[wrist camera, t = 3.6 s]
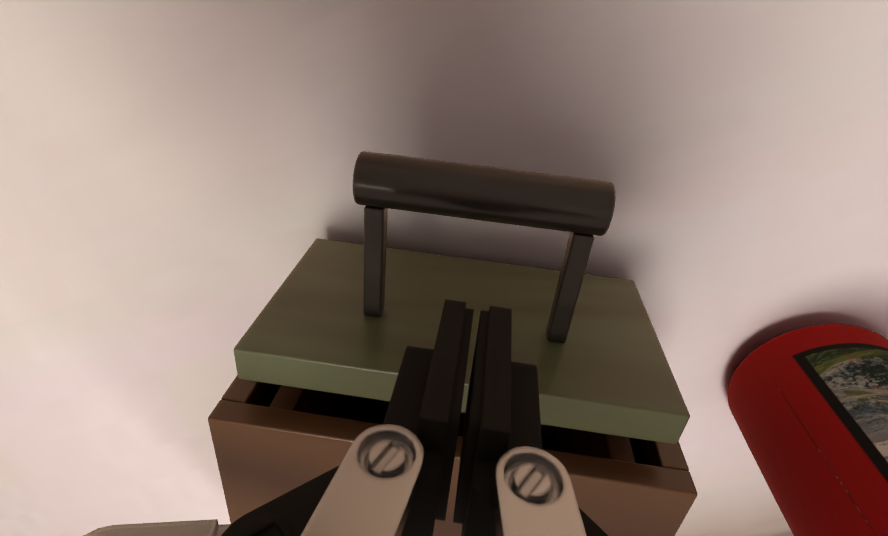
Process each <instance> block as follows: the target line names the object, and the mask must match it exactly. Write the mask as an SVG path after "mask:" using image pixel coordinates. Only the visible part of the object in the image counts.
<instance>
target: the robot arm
mask: <svg viewBox="0 0 888 536" xmlns="http://www.w3.org/2000/svg"><path fill="white" fill-rule="evenodd" d="M473 313H474V309H470V308H466V302H462V301H455V300H448V299H445V302H444V307H443V311H442V316H441V320H440V325H439V329H438V333H437V338H436V342H435V347H434V350H433V349H426V348H420V347H413V346H407V347H406V350H405V353H404V356H403V359H402V363H401V366H400V369H399V373H398V376H397V379H396V383H395V386H394V389H393V392H392V396H391V399H390V402H389V406H388V409H387V412H386V416H385V419H384V422H383V425H377V426H374V427H371V428H368V429H366V430H365V431H364V432H362V433H361V434H359V435H358V437H357V438H356V439H355V440H354V442H353V443H352V445H351V446H350V448H349V450H348V452H347V454H346V455H345V457H344V459H343V461H342V463H341V464H340V465H339V466H337V467H335V468H333V469H331V470H329V471H327V472H325V473H323V474H322V475H320V476H318V477H316V478H314V479H312V480H310V481H308V482H306V483H304V484H302V485H300V486H299V487H297V488H295V489H293V490H291V491H289V492H287V493H285V494H283V495H281V496H279V497H277V498H276V499H274V500H272V501H270V502H268V503H266V504H264V505H262V506H260V507H258V508H256V509H254V510H252V511H251V512H249V513H247V514H245V515H243V516H242V517H240V518H239V519H237V520H236V521H234V522H233V523H232V524H227V525H218V521H217V519H216V520H198V521H179V522H161V523H143V524H124V525H112V526H107V527H102V528H98V529H96V530H94V531H92V532H90V533H88V534H86V535H84V536H432V535H433V531H434V525H435V519H436V520H441V521H445V518H446V511H447V505H448V498H449V491H450V485H451V478H452V471H453V464H454V458H455V451H456V444H457V438H458V431H459V424H460V416H461V409H462V401H463V393H464V385H465V377H466V369H467V361H468V353H469V345H470V337H471V329H472V321H473ZM511 339H512V309H510V308H503V307H496V306H490V308H489V311H484V310H481V312H480V318H479V324H478V331H477V337H476V344H475V350H474V357H473V363H472V370H471V376H470V383H469V389H468V396H467V404H466V413H465V421H464V430H463V439H462V448H461V456H460V465H459V474H458V482H457V491H456V500H455V508H454V517H453V523H459V524H462V532H461V536H608V535H607V534H606V533H605V532H604V531H603V530H602V529H601V528H600V527H599V526H598V525H597V524H596V523H595V522H594V521H593V520H592V519H591V518H590V517H589V516H587V515H586V514H585V513H584V512H583V511H582V510H581V509H580V508H579V507H578V504H577V500H576V497H575V493H574V490H573V486H572V483H571V479H570V477H569V474H568V472H567V470H566V468H565V467H564V466H563V465H562V463H561V462H560V461H559V460H558V459H557V458H555V457H554V456H553V455H551V454H550V453H548V452H546V451H544V450H542V436H541V420H540V404H539V388H538V372H537V366H536V365H532V364H526V363H519V362H512V361H511Z"/></svg>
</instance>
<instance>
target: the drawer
mask: <svg viewBox="0 0 888 536" xmlns="http://www.w3.org/2000/svg"><path fill="white" fill-rule="evenodd" d="M353 196H354V200H355V202H356V203H357V204H359V205H366V206H365V207H364V245H363V244H356V243H348V242H341V241H333V240H326V239H316V240H315V241H314V243H313V244H312V245H311V247H310V248H309V249H308V251H307V252H306V253H305V255H304V256H303V257H302V259H301V260H300V261H299V263H298V264H297V265H296V267H295V268H294V269H293V271H292V272H291V273H290V275H289V276H288V277H287V279H286V280H285V281H284V283H283V284H282V285H281V287H280V288H279V289H278V291H277V292H276V293H275V295H274V296H273V297H272V298H271V300H270V301H269V302H268V304H267V305H266V306H265V308H264V309H263V310H262V312H261V313H260V314H259V316H258V317H257V318H256V320H255V321H254V322H253V324H252V325H251V326H250V328H249V329H248V330H247V332H246V333H245V334H244V336H243V337H242V338H241V340H240V341H239V342H238V344H237V345H236V346H235V348H234V355H235V361H236V367H237V373H238V378H239V379H243V380H250V381H257V382H263V383H270V384H276V385H281V387H280V388H279V390H278V392H277V394H276V396H275V397H274V399H273V401H272V403H271V404H270V406H269V407H272V408H279V409H285V410H292V411H298V412H305V413H311V414H318V415H325V416H331V417H338V418H344V419H351V420H357V421H364V422H370V423H377V424H383V422H384V419H385V416H386V412H387V409H388V406H389V402H390V399H391V396H392V392H393V389H394V386H395V383H396V379H397V376H398V373H399V369H400V366H401V363H402V359H403V356H404V353H405V350H406V347H407V346H413V347H420V348H426V349H433V350H434V347H435V342H436V338H437V333H438V329H439V325H440V320H441V316H442V311H443V307H444V302H445V299H448V300H455V301H462V302H466V308H470V309H474V313H473V321H472V329H471V337H470V345H469V353H468V361H467V369H466V377H465V385H464V393H463V401H462V409H461V416H460V424H459V431H458V436H462V437H463V430H464V421H465V413H466V404H467V396H468V389H469V383H470V376H471V370H472V363H473V357H474V350H475V344H476V337H477V331H478V324H479V318H480V312H481V310H484V311H489V308H490V306H496V307H503V308H510V309H512V339H511V361H512V362H519V363H526V364H532V365H536V366H537V372H538V388H539V404H540V420H541V436H542V449H547V450H553V451H560V452H566V453H573V454H579V455H586V456H593V457H599V458H606V459H612V460H619V461H625V462H632V463H636V462H635V458H634V455H633V451H632V447H631V443H630V439H629V438H636V439H642V440H649V441H656V442H662V443H669V444H677V442H678V440H679V438H680V436H681V434H682V432H683V430H684V428H685V426H686V424H687V422H688V420H689V418H690V415H689V412H688V410H687V407H686V405H685V403H684V400H683V398H682V395H681V393H680V391H679V388H678V386H677V383H676V381H675V379H674V376H673V374H672V372H671V369H670V367H669V364H668V362H667V360H666V357H665V355H664V352H663V350H662V348H661V345H660V343H659V340H658V338H657V336H656V333H655V331H654V328H653V326H652V324H651V321H650V319H649V316H648V314H647V312H646V309H645V307H644V304H643V302H642V300H641V297H640V295H639V292H638V290H637V288H636V285H635V283H634V281H632V280H625V279H618V278H610V277H603V276H595V275H588V274H584V273H585V270H586V266H587V262H588V259H589V255H590V251H591V248H592V244H593V240H594V236H593V235H598V236H602V235H604V234H605V233H606V232H607V230H608V228H609V226H610V223H611V220H612V216H613V212H614V206H615V188H614V184H613V183H612V182H609V181H601V180H592V179H584V178H576V177H568V176H560V175H552V174H544V173H536V172H528V171H519V170H511V169H503V168H495V167H487V166H479V165H471V164H463V163H455V162H446V161H438V160H430V159H422V158H414V157H406V156H398V155H390V154H382V153H373V152H365V151H363V152H361V153H360V154H359V155H358V158H357V160H356V164H355V168H354V174H353ZM388 208H389V209H397V210H405V211H412V212H420V213H428V214H436V215H443V216H451V217H459V218H467V219H474V220H482V221H490V222H497V223H505V224H513V225H521V226H528V227H536V228H544V229H552V230H559V231H567V232H570V234H569V239H568V243H567V247H566V251H565V255H564V259H563V263H562V267H561V271H558V270H550V269H543V268H535V267H528V266H520V265H513V264H505V263H498V262H490V261H483V260H475V259H468V258H460V257H453V256H445V255H438V254H430V253H423V252H415V251H408V250H401V249H393V248H386V242H387V212H388Z"/></svg>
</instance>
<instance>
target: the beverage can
mask: <svg viewBox="0 0 888 536" xmlns="http://www.w3.org/2000/svg"><path fill="white" fill-rule="evenodd" d="M728 403H729V407H730V410H731V412H732V414H733V416H734V418H735V420H736V422H737V424H738V426H739V428H740V430H741V432H742V434H743V436H744V438H745V440H746V442H747V444H748V446H749V448H750V450H751V452H752V454H753V456H754V458H755V460H756V462H757V464H758V466H759V468H760V470H761V472H762V474H763V476H764V478H765V480H766V482H767V484H768V486H769V488H770V490H771V492H772V494H773V496H774V498H775V500H776V502H777V504H778V506H779V508H780V510H781V512H782V514H783V515H784V517H785V519H786V521H787V523H788V525H789V527H790V529H791V531H792V533H793V535H794V536H888V340H887V339H886V338H884V337H883V336H881V335H879V334H877V333H875V332H873V331H871V330H868V329H865V328H861V327H857V326H852V325H844V324H824V325H815V326H809V327H804V328H800V329H796V330H793V331H790V332H787V333H784V334H782V335H779V336H777V337H775V338H773V339H771V340H769V341H767V342H766V343H764V344H762V345H761V346H759V347H758V348H756V349H755V350H754V351H753V352H751V353H750V354H749V355H748V356H747V357H746V358H745V359H744V360H743V361H742V362H741V363H740V365H739V366H738V367H737V369H736V370H735V372H734V374H733V376H732V378H731V380H730V383H729V387H728Z"/></svg>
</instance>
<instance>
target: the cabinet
mask: <svg viewBox="0 0 888 536" xmlns="http://www.w3.org/2000/svg"><path fill="white" fill-rule="evenodd" d="M280 387H281V385H276V384H270V383H263V382H257V381H250V380H243V379H239V378H238V375H237V377H236V378H235V379H234V381H233V382H232V384H231V385H230V387H229V388H228V390H227V391H226V392H225V394H224V395H223V397H222V400H220V401H219V403H218V404H217V406H216V407H215V409H214V410H213V412H212V413H211V414H210V416H209V418H208V422H209V426H210V431H211V435H212V440H213V444H214V449H215V453H216V458H217V462H218V467H219V471H220V476H221V481H222V485H223V490H224V494H225V499H226V503H227V508H228V512H229V517H230V521H231V524H232V523H233V522H234V521H236V520H237V519H239V518H240V517H242V516H243V515H245V514H247V513H249V512H251V511H252V510H254V509H256V508H258V507H260V506H262V505H264V504H266V503H268V502H270V501H272V500H274V499H276V498H277V497H279V496H281V495H283V494H285V493H287V492H289V491H291V490H293V489H295V488H297V487H299V486H300V485H302V484H304V483H306V482H308V481H310V480H312V479H314V478H316V477H318V476H320V475H322V474H323V473H325V472H327V471H329V470H331V469H333V468H335V467H337V466H339V465H340V464H341V463H342V461H343V459H344V457H345V455H346V454H347V452H348V450H349V448H350V446H351V445H352V443H353V442H354V440H355V439H356V438H357V437H358V435H359V434H361V433H362V432H364V431H365V430H366V429H368V428H371V427H374V426H377V425H383V424H377V423H370V422H364V421H357V420H351V419H344V418H338V417H331V416H325V415H318V414H311V413H305V412H298V411H292V410H285V409H279V408H272V407H269V406H270V404H271V403H272V401H273V399H274V397H275V396H276V394H277V392H278V390H279V388H280ZM462 439H463V437H462V436H458V438H457V444H456V451H455V458H454V464H453V471H452V478H451V485H450V491H449V498H448V505H447V511H446V518H445V521H441V520H436V519H435V525H434V531H433V535H432V536H461V532H462V524H459V523H453V517H454V508H455V500H456V491H457V482H458V474H459V465H460V456H461V448H462ZM629 439H630V443H631V447H632V451H633V455H634V458H635V462H636V463H632V462H625V461H619V460H612V459H606V458H599V457H593V456H586V455H579V454H573V453H566V452H560V451H553V450H547V449H542V450H544V451H546V452H548V453H550V454H551V455H553V456H554V457H555V458H557V459H558V460H559V461H560V462H561V463H562V465H563V466H564V467H565V468H566V470H567V472H568V474H569V477H570V479H571V483H572V486H573V490H574V493H575V497H576V500H577V504H578V507H579V508H580V509H581V510H582V511H583V512H584V513H585V514H586V515H587V516H589V517H590V518H591V519H592V520H593V521H594V522H595V523H596V524H597V525H598V526H599V527H600V528H601V529H602V530H603V531H604V532H605V533H606V534H607V535H608V536H675V534H676V532H677V531H678V529H679V527H680V525H681V523H682V522H683V520H684V518H685V516H686V515H687V513H688V511H689V509H690V507H691V506H692V504H693V502H694V500H695V498H696V497H697V491H696V488H695V486H694V483H693V480H692V477H691V475H690V472H688V471H689V469H688V466H687V463H686V461H685V458H684V455H683V452H682V450H681V447H680V444H679V442H677V444H669V443H662V442H656V441H649V440H642V439H636V438H629Z"/></svg>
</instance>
